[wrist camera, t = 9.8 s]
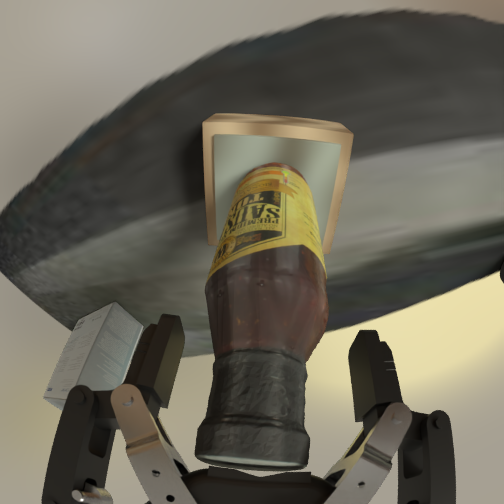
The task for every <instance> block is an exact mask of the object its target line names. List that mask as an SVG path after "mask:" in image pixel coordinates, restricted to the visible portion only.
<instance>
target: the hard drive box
mask: <svg viewBox="0 0 504 504" xmlns="http://www.w3.org/2000/svg"><path fill="white" fill-rule="evenodd" d="M142 329H143V325H142V324H140V323H139V322H138V321H137V320H136V319H135V318H133V317H132V316H131V315H130V314H129V313H128V312H127V311H125V310H124V309H123V308H122V307H121V306H120V305H119V304H118V303H117V302H113V303H111V304H109V305H107V306H105V307H103V308H101V309H99V310H97V311H95V312H93V313H91V314H89V315H87V316H85V317H83V318H81V319H79V320H78V322H77V324H76V326H75V328H74V330H73V331H72V334H71V336H70V338H69V340H68V342H67V344H66V346H65V348H64V350H63V352H62V354H61V356H60V359H59V361H58V363H57V365H56V368H55V370H54V372H53V374H52V377H51V379H50V382H49V384H48V386H47V389H46V391H45V394H44V399H45V400H47V401H48V402H50V403H51V404H52V405H54V406H56V407H57V408H59V409H60V410H62V411H63V408H64V405H65V402H66V399H67V396H68V393H69V391H70V390H71V389H72V388H73V387H74V386H77V385H85V386H87V387H89V388H90V389H91V390H92V391H101V390H113V389H115V388H116V387H118V386H120V385H121V384H122V383H123V382H124V379H125V376H126V373H127V370H128V367H129V365H130V362H131V359H132V356H133V354H134V351H135V348H136V345H137V343H138V340H139V337H140V335H141V332H142Z"/></svg>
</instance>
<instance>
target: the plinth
mask: <svg viewBox="0 0 504 504" xmlns="http://www.w3.org/2000/svg"><path fill="white" fill-rule="evenodd" d="M353 135H354V134H353V133H352V132H350V131H349V130H348V129H347V128H346V127H344V126H343V125H342V124H341V123H336V122H329V121H322V120H315V119H306V118H297V117H287V116H274V115H258V114H214V115H212V116H211V117H210V118H208V119H207V120H205V121H204V122H203V157H204V182H205V202H206V219H207V235H208V245H215V246H218V243H219V240H220V237H221V234H222V231H223V228H224V224H225V221H226V219H227V216H228V213H229V210H230V207H231V204H232V201H233V198H234V195H235V192H236V190H237V187H238V185H239V184H240V183H241V181H242V180H243V178H244V177H245V176H246V174H247V173H249V172H250V171H251V170H253V169H254V168H256V167H258V166H261V165H264V164H267V163H274V162H276V163H282V164H287V165H289V166H292V167H293V168H295V169H296V170H298V171H299V172H300V173H301V174H302V175H303V177H304V178H305V180H306V182H307V184H308V186H309V188H310V190H311V192H312V195H313V200H314V205H315V210H316V215H317V220H318V227H319V233H320V239H321V245H322V251H323V254H329V253H330V249H331V245H332V241H333V237H334V233H335V229H336V224H337V220H338V215H339V211H340V206H341V201H342V196H343V192H344V186H345V181H346V176H347V171H348V165H349V160H350V154H351V148H352V142H353Z"/></svg>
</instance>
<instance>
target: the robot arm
mask: <svg viewBox="0 0 504 504" xmlns="http://www.w3.org/2000/svg"><path fill="white" fill-rule="evenodd" d="M500 278H501V280H502V281H503V283H504V262H503V264H502V267H501V270H500ZM184 344H185V335H184V331H183V327H182V323H181V319H180V317H179V316H176V315H169V314H162V315H161V317H160V320H159V322H158V325H156V324H150V325H149V326H148V327H147V328H146V329H145V330H144V332H143V334H142V336H141V339H140V341H139V344H138V346H137V349H136V351H135V354H134V356H133V359H132V362H131V364H130V367H129V370H128V372H127V375H126V378H125V380H124V382H123V383H122V384H121V385H120V386H118V387H116V388H115V389H113V390H101V391H92V390H91V389H90V388H89V387H87V386H85V385H77V386H74V387H73V388H72V389H71V390H70V391H69V393H68V396H67V399H66V402H65V405H64V408H63V411H62V414H61V417H60V421H59V424H58V427H57V431H56V434H55V438H54V442H53V446H52V450H51V454H50V458H49V463H48V467H47V472H46V477H45V482H44V488H43V494H42V504H113V499H112V497H111V495H110V493H109V492H108V491H107V490H105V489H104V487H105V481H106V476H107V471H108V465H109V460H110V455H111V450H112V446H113V441H114V437H115V432H116V429H121V431H122V434H123V436H124V439H125V441H126V445H127V446H126V453H127V456H128V458H129V460H130V462H131V465H132V467H133V469H134V471H135V473H136V475H137V477H138V479H139V481H140V483H141V485H142V487H143V489H144V491H145V492H146V494H147V496H148V498H149V501H148V502H147V503H145V504H368V503H369V502H370V500H371V499H372V497H373V496H374V495H375V493H376V492H377V490H378V489H379V487H380V486H381V484H382V483H383V481H384V480H385V478H386V477H387V475H388V473H389V472H390V470H391V468H392V463H391V460H392V458H393V456H394V454H395V452H396V451H397V449H398V504H456V476H455V458H454V447H453V438H452V430H451V423H450V418H449V416H448V415H447V414H446V413H445V412H444V411H441V410H436V411H434V412H432V413H431V414H424V413H418V412H414V411H411V410H410V409H409V407H408V406H407V405H405V404H404V403H403V400H402V396H401V391H400V386H399V381H398V377H397V372H396V370H395V369H396V368H395V364H394V359H393V355H392V351H391V349H390V348H389V346H388V345H387V343H386V342H385V341H382V342H380V340H379V336H378V332H377V331H376V330H360V331H359V332H358V334H357V336H356V338H355V340H354V342H353V343H352V345H351V347H350V350H349V356H348V359H349V367H350V376H351V384H352V392H353V402H354V412H355V422H362V421H363V428H362V429H361V431H360V432H359V434H358V435H357V437H356V438H355V440H354V441H353V443H352V444H351V445H350V447H349V448H348V450H347V451H346V452H345V454H344V455H343V456H342V458H341V459H340V460H339V461H338V462H337V463H336V464H335V465H334V466H333V467H332V468H331V469H330V470H329V471H328V473H327V474H326V475H325V476H324V478H323V479H322V478H320V477H317V476H314V475H311V472H285V473H280V474H275V475H270V476H265V477H257V476H254V475H250V474H247V473H244V472H241V471H238V470H235V469H228V468H221V467H214V466H209V468H208V469H200V470H196V471H193V472H190V471H189V469H188V468H187V466H186V464H185V463H184V461H183V459H182V458H181V456H180V454H179V453H178V452H177V450H176V449H175V447H174V445H173V444H172V442H171V440H170V438H169V436H168V434H167V432H166V430H165V428H164V426H163V424H162V422H161V420H160V418H159V416H158V413H159V410H160V407H162V408H168V404H169V400H170V395H171V392H172V389H173V385H174V381H175V377H176V374H177V370H178V366H179V363H180V359H181V356H182V352H183V349H184ZM358 486H359V487H358Z"/></svg>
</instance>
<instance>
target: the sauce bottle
mask: <svg viewBox="0 0 504 504" xmlns="http://www.w3.org/2000/svg"><path fill="white" fill-rule="evenodd" d="M326 278H327V277H326V270H325V263H324V257H323V251H322V245H321V239H320V233H319V227H318V220H317V215H316V210H315V205H314V200H313V195H312V192H311V190H310V188H309V186H308V184H307V182H306V180H305V178H304V177H303V175H302V174H301V173H300V172H299V171H298V170H296V169H295V168H293V167H292V166H289V165H287V164H282V163H276V162H274V163H267V164H264V165H261V166H258V167H256V168H254V169H253V170H251V171H250V172H249V173H247V174H246V176H245V177H244V178H243V180H242V181H241V183H240V184H239V185H238V187H237V190H236V192H235V195H234V198H233V201H232V204H231V207H230V210H229V213H228V216H227V219H226V221H225V224H224V228H223V231H222V234H221V237H220V240H219V243H218V247H217V250H216V253H215V256H214V259H213V262H212V266H211V269H210V272H209V275H208V279H207V282H206V286H205V295H206V300H207V308H208V315H209V322H210V329H211V336H212V343H213V349H214V356H215V362H214V363H213V382H212V387H211V392H210V396H209V400H208V408H207V412H206V417H205V419H204V420H203V421H202V423H201V425H200V426H199V428H198V431H197V438H196V446H195V457H196V458H197V459H199V460H200V461H202V462H205V463H208V464H211V465H215V466H221V467H227V468H235V469H243V470H257V471H291V470H300V469H304V468H305V467H306V466H307V464H308V459H309V448H310V437H309V435H308V434H307V432H306V430H305V427H304V419H305V418H304V416H305V413H304V408H305V382H306V380H307V371H306V364H305V363H306V362H307V361H308V359H309V358H310V356H311V354H312V352H313V350H314V349H315V348H316V346H317V344H318V343H319V341H320V339H321V338H322V336H323V334H324V332H325V327H326V323H327V320H328V309H329V307H328V300H327V294H326V288H325V286H326Z"/></svg>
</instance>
